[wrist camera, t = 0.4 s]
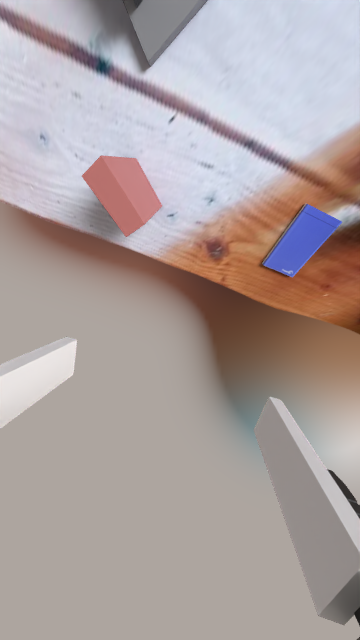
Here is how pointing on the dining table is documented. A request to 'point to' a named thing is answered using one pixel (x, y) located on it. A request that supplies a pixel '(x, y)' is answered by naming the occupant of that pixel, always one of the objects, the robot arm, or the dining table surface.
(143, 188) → the red rectangular block
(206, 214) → the dining table surface
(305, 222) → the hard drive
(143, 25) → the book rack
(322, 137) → the dining table surface
